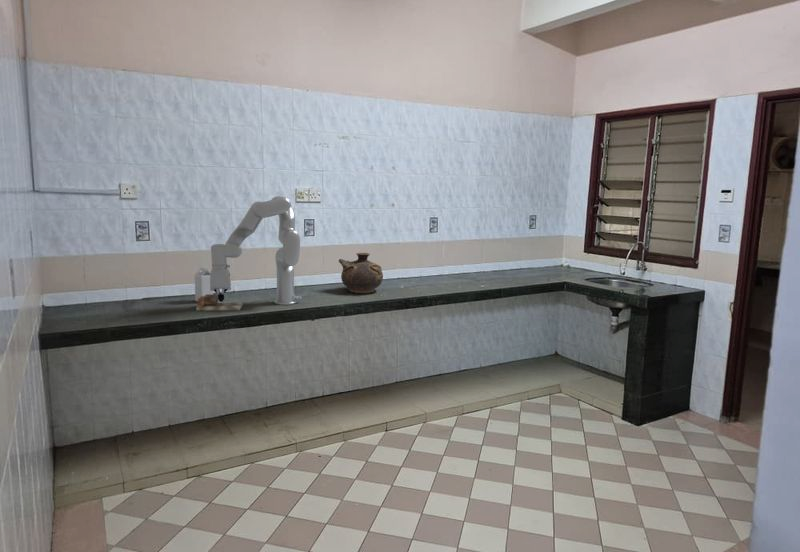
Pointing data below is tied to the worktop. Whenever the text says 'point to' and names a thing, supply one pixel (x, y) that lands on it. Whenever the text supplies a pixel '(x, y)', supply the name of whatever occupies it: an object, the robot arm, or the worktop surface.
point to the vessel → (361, 274)
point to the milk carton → (202, 283)
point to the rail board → (219, 305)
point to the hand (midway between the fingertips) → (221, 301)
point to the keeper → (211, 299)
